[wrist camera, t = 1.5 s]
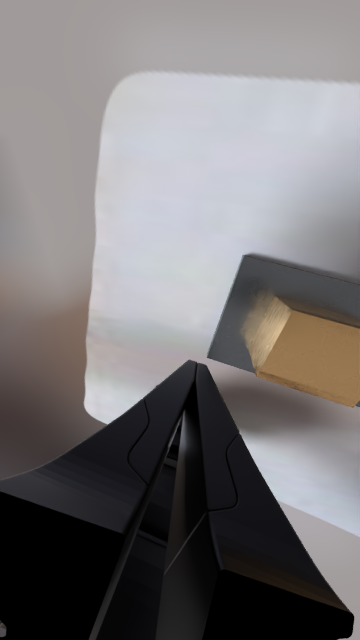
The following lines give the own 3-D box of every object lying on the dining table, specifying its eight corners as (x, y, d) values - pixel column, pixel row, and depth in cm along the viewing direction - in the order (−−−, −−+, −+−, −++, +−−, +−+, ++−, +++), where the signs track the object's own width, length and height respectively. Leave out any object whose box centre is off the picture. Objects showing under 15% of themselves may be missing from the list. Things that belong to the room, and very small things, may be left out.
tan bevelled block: (322, 372, 16) (352, 407, 12) (248, 349, 17) (256, 376, 13) (361, 319, 14) (413, 343, 10) (274, 295, 14) (292, 310, 11)
